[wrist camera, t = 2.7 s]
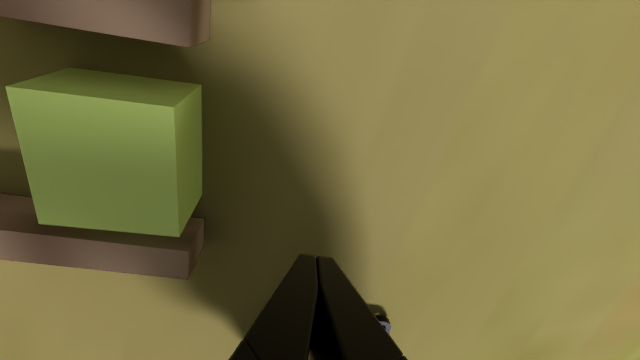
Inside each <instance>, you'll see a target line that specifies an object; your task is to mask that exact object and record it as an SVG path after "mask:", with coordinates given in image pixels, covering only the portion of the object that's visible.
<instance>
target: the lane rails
mask: <svg viewBox="0 0 640 360" xmlns="http://www.w3.org/2000/svg"><path fill="white" fill-rule="evenodd" d="M210 10H211V0H0V16H2V17H8V18H14V19H20V20H26V21H32V22H38V23H44V24H50V25H56V26H62V27H68V28H74V29H80V30H86V31H92V32H98V33H104V34H110V35H116V36H123V37H129V38H135V39H141V40H147V41H153V42H159V43H165V44H171V45H177V46H183V47H189V48H190V47H193V46H195V45H198V44H200V43H203V42H205V41H207V40H210ZM203 245H204V219H203V218H195V217H190V218H189V220H188V222H187V224H186V225H185V227H184V229H183V231H182V233H181V235H180V237H172V236H161V235H151V234H140V233H130V232H119V231H109V230H98V229H88V228H77V227H67V226H56V225H46V224H39V223H38V219H37V215H36V211H35V207H34V203H33V199H32V197H25V196H17V195H8V194H0V260H10V261H19V262H28V263H37V264H47V265H56V266H65V267H75V268H84V269H93V270H102V271H112V272H121V273H130V274H140V275H149V276H158V277H167V278H177V279H186V280H188V279H189V277H190V275H191V272H192V270H193V268H194V265H195V263H196V261H197V258H198V256H199V254H200V252H201V249H202V247H203Z"/></svg>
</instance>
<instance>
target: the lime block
mask: <svg viewBox="0 0 640 360" xmlns="http://www.w3.org/2000/svg"><path fill="white" fill-rule="evenodd" d="M5 88H6V92H7V96H8V100H9V104H10V108H11V112H12V116H13V121H14V125H15V129H16V133H17V137H18V141H19V145H20V149H21V153H22V158H23V162H24V166H25V170H26V174H27V178H28V182H29V186H30V190H31V195H32V199H33V203H34V207H35V211H36V215H37V219H38V223H39V224H46V225H56V226H67V227H77V228H88V229H98V230H109V231H119V232H130V233H140V234H151V235H161V236H172V237H180V235H181V233H182V231H183V229H184V227H185V225H186V224H187V222H188V220H189V218H190V216H191V214H192V213H193V211H194V209H195V207H196V205H197V203H198V201H199V200H200V198H201V196H202V85H201V84H194V83H186V82H178V81H171V80H163V79H155V78H148V77H140V76H132V75H125V74H117V73H109V72H102V71H94V70H86V69H79V68H71V67H69V68H66V69H62V70H59V71H56V72H52V73H49V74H45V75H42V76H39V77H35V78H32V79H29V80H25V81H22V82H18V83H15V84H12V85H8V86H5Z"/></svg>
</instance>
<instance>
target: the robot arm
mask: <svg viewBox="0 0 640 360" xmlns="http://www.w3.org/2000/svg"><path fill="white" fill-rule="evenodd" d="M390 329H391V326H390V322H389V319H388V318H387V317H384V316H378V315H374V313H373V312H372V311H371V309H370V308H369V307H368V305H367V304H366V303H365V301H364V300H363V298H362V297H361V296H360V294H359V293H358V292H357V290H356V289H355V288H354V286H353V285H352V283H351V282H350V281H349V279H348V278H347V277H346V275H345V274H344V273H343V271H342V270H341V268H340V267H339V266H338V264H337V263H336V262H335V260H334V259H333V258H331V257H324V256H318V257H317V258H316V257H315V256H314V255H307V254H300V255H299V256H298V258H297V259H296V261H295V262H294V264H293V265H292V267H291V268H290V270H289V271H288V273H287V274H286V276H285V277H284V279H283V280H282V282H281V283H280V285H279V286H278V288H277V289H276V291H275V292H274V294H273V295H272V297H271V298H270V299H269V301H268V302H267V304H266V305H265V307H264V308H263V310H262V311H261V313H260V314H259V316H258V317H257V319H256V320H255V322H254V323H253V325H252V326H251V328H250V329H249V331H248V332H247V334H246V335H245V337H244V338H243V341H241V342H240V344H239V345H238V347H237V348H236V350H235V351H234V353H233V354H232V355H231V357H230V358H229V360H407V358H406V357H405V356H403V353H402V352H401V350H400V349H399V348H398V346H397V345H396V343H395V342H394V341H393V339H392V338H391V337H390V335H389V332H390Z"/></svg>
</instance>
